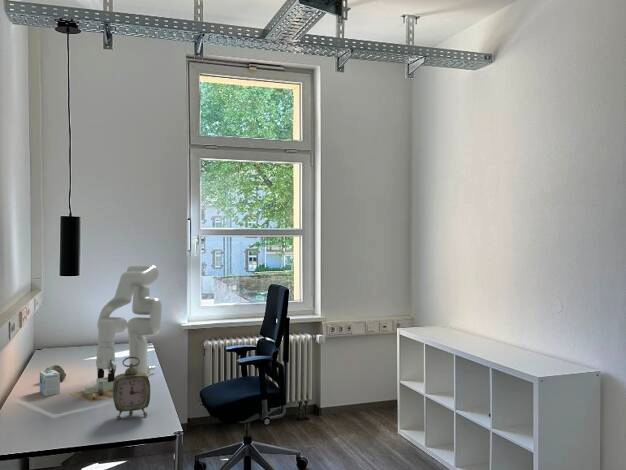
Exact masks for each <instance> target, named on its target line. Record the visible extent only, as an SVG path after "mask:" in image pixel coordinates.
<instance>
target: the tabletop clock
mask: <svg viewBox="0 0 626 470" xmlns="http://www.w3.org/2000/svg"><path fill="white" fill-rule="evenodd" d="M130 358H135V359H137V360H138V361H139V362H138V363H137V364H135V365H132V363H131V364H130V365H127V364H125V362H126V360H129V359H130ZM139 363H140V360H139V359H138V358H137V357H129V356H128V357H125V358H124V359H123V361H122V366H124V367H126V369H125V371H124V373H120V374H117V375H115V378H114V382H113V398H112V399H113V403H114V408H115V409H116V411H118V412H119V414H118V415H117V416H116V420H118V421H119V420H120V419H121V416H122V415H121V414H122V412H124V413H125V412H128V415H129V416H132V415H133V414H134V413H133V411H142V412H143V414H142V415H143V416H144V417H147V416H148V412H146V411H145V409H146V408H148V407H149V405H150V401H151V384H150V383H151V382H150V379H149V376H147V375H146V374H145V373H143V372H137V370H136V368H134V366H137V365H138V364H139ZM129 367H130V368H129Z"/></svg>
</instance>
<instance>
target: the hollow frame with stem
mask: <svg viewBox="0 0 626 470" xmlns="http://www.w3.org/2000/svg"><path fill="white" fill-rule="evenodd" d="M95 381H96V385H93V386H89V387H88V386H87V387H84V390H85V393H86V394H89V393H94V392H98V391H99V382H103V392H105V391H109V390H113V382H114V381H112V382H108V376H104V378H99V379H98V378H96V380H95Z"/></svg>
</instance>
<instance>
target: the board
mask: <svg viewBox="0 0 626 470" xmlns="http://www.w3.org/2000/svg"><path fill="white" fill-rule="evenodd" d="M94 393H96V399H93V393H89V394H86V393H85V389H84V390H80V391H76V392H71V393H68V395H69V396H72V397H74V398H77V399H81V400H83V401H86V402H88V403H95V402H100V401H105V400H108V399H113V390H109V391H105V392H103V395H102V396H99V391H98V392H94Z"/></svg>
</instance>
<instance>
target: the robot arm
mask: <svg viewBox="0 0 626 470" xmlns="http://www.w3.org/2000/svg"><path fill="white" fill-rule="evenodd" d="M158 277H159V269H158V267H157V266H155V265H146V264H145V265H144V264H142V265H141V264H140V265H139V264H136V265H135V264H134V265H130V266H129V267H127V269H126V271H125V272H123V273H122V274H121V276H120V277H119V281H118V285H117V287H116V291H115V294H114V297H113V298H112V299H110V300H109V301H108V302H107V303H106V304H105V305H104V306H103V307H102V309H101V310H100V314H99V316H98V319H97V329H98V335H97V337H98V339H97V352H96V360H95V362H96V364H95V365H96V368H97V369H96V370H97V379H99V378H104V377H105V370H107V372H108V373H107V377H108V382H112V381H114V378H115V376H116V371H117V363H116V356H115V355H116V353H115V339H116V337H115V334H116V333H123V332H124V331H126V330H127V334H128V346H129V347H128V350H129V351H128V355H129V356H128V357H137V358H138V359H139V360H140V363H139V364H138V365H137V366H134V368H136V370H137V372H143V373H145V374H146V375H147V377H149V376H150V375H151V371H153V370H156V366H155V365H152V366H150V365H149V366H148V341H147V338H146V336H156V335H158V334H159V332H160V329H161V323H162V313H163V306H162V300H160V299H159V298H157V297H150V294H151V293H150V289H151V288H150V285H151V284H153V283H154V282H155V281H156V280H157V279H158ZM131 302H132V305H131V310H132V313H133V314H134V315H138V316H139V317H132V318H130V319H129V320H128V321H127V319H126V318H124V317H120V316H119V317H116V316H111V315H112V313H114V311H116V310H117V309H120V308H122V307H124V306H127V305H129V304H131ZM140 316H149V317H140ZM128 361H129V362H128V364H129V365H130V364H131V363H132V365H135V364H137V363H138V362H139V361H138V360H137V359H135V358H130V359H128ZM128 368H130V367H128Z"/></svg>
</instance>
